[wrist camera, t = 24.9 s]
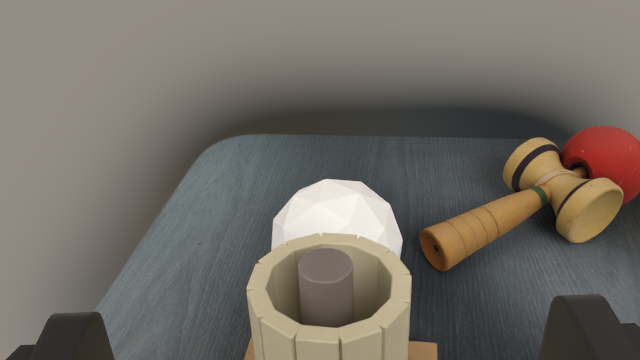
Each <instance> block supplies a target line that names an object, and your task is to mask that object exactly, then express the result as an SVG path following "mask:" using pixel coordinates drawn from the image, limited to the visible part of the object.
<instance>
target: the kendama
mask: <svg viewBox="0 0 640 360" xmlns="http://www.w3.org/2000/svg"><path fill="white" fill-rule="evenodd" d="M503 181H504V183H505V184H506V185H507V186H508V187H509V188H510V189H511V190H512V191H514V192H516V193H514V194H511V195H508V196H505V197H502V198H499V199H497V200H494V201H492V202H489V203H487V204H484V205H482V206H480V207H478V208H475V209H473V210H470V211H468V212H467V213H463V214H461V215H459V216H456V217H454V218H451V219H449V220H446V221H444V222H441V223H439V224H436V225H433V226H431V227H428V228H425V229H423V230H422V231H421V233H420V244H421V248H422V250H423V253H424V255H425V257H426V258H427V260H428V261H429V262H430V264H431V265H432V266H433V267H434V268H435V269H437V270H439V271H441V272H445V271H447V270H448V269H450V268H451V267H453V266H454V265H456V264H457V263H459V262H460V261H462V260H463V259H465V258H466V257H468V256H469V255H471V254H472V253H474V252H476V251H477V250H479V249H480V248H482V247H484V246H485V245H487V244H489V243H490V242H492V241H493V240H495V239H496V238H498V237H500V236H502V235H503V234H505V233H506V232H508V231H510V230H511V229H513V228H514V227H516V226H517V225H519V224H520V223H521V222H523V221H524V220H526V219H527V218H528V217H529V216H531V215H532V214H533V213H535V212H536V211H537V210H539V209H540V208H541V207H543V206H544V205H545V204H547V203H548V202H549V203H550V204H551V206H552V207H553V209H554V212H555V215H556V229H557V231H558V232H559V233H560V234H561V235H562V236H564V237H565V238H566V239H567V240H569V241H570V242H572V243H582V242H584V241H587V240H589V239H591V238H593V237H594V236H596V235H597V234H599V233H600V232H601V231H602V230H603V229H605V228H606V227H607V226H608V225H609V223H610V222H611V221H612V220H613V219H614V217H615V216H616V214H617V213H618V211H619V209H620V207H621V205H623V204H625V203H627V202H629V201H630V200H632V199H633V198H634V197H635V196H636V195H637V194H638V193H639V192H640V142H639V141H638V140H637V139H636V138H635V137H634V136H633V135H631V134H630V133H628V132H627V131H625V130H622V129H620V128H616V127H610V126H596V127H590V128H587V129H585V130H582V131H580V132H578V133H577V134H575V135H574V136H573V137H571V138H570V139H569V140H568V141H567V142H566V144H565V145H564V147H563V148H562V150H561V152H560V154H559V150H558V147H557V146H556V145H555V144H554V143H552V142H550V141H549V140H547V139H545V138H540V137H539V138H533V139H531V140H528V141H527V142H525V143H523V144H522V145H521V146H519V147H518V148H517V149H516V150H515V151H514V152H513V154H512V155H511V156H510V158H509V159H508V161H507V163H506V165H505V167H504V171H503Z"/></svg>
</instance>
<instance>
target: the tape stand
mask: <svg viewBox="0 0 640 360" xmlns="http://www.w3.org/2000/svg"><path fill="white" fill-rule="evenodd" d="M298 276H299V290H300V304H301V318H302V325H309V326H321V327H332V328H339V327H342V326H346V325H349V324H352V323H354V294H353V262H352V260H351V258H350V257H349V256H348V255H347V254H346V253H345V252H343V251H341V250H338V249H333V248H319V249H315V250H312V251H310V252H308V253H306V254H305V255H304V256H303V257H302V258H301V259H300V261H299V263H298ZM244 360H255V353H254V346H253V338H252V336H251V339H250V342H249V345H248V348H247V352H246V355H245V358H244ZM407 360H437V344H436V343H429V342H417V341H408V358H407Z"/></svg>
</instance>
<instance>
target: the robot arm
mask: <svg viewBox="0 0 640 360" xmlns="http://www.w3.org/2000/svg"><path fill="white" fill-rule="evenodd" d="M6 360H115V359H114V356H113V353H112V349H111V346H110V342H109V339H108V335H107V332H106V328H105V325H104V322H103V319H102V316H101V315H100V313H98V312H80V313H55V314H53V315H51V316H50V318H49V319H48V321H47V323H46V325H45V327H44V329H43V331H42V333H41V335H40V337H39V339H38V341H37V343H36V345H20V346H19V347H18V348H17V349H16V350H15V351H14V352H13V353H12V354H11V355H10V356H9V357H8V358H7V359H6ZM539 360H640V327H639V326H638V325H636V324H635V323H627V324H621V323H620V321H619V320H618V318H617V317H616V315H615V313H614V312H613V310H612V308H611V307H610V305H609V304H608V302H607V301H606V299H605V298H604V297H603V296H601V295H599V294H592V295H566V296H556V297H554V298H553V300H552V303H551V306H550V310H549V315H548V319H547V323H546V327H545V331H544V336H543V340H542V344H541V348H540V353H539Z"/></svg>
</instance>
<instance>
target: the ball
mask: <svg viewBox="0 0 640 360" xmlns="http://www.w3.org/2000/svg"><path fill="white" fill-rule="evenodd" d="M316 233H319V234H320V236H322V233H338V234H354V235H357V239H358V238H359V237H360V236H362V237H365V238H367V239H369V240H372V241H374V242H376V243H379V244H381V245H383V246H385V247H388V248H389V249H390V251H393V252H394V253H395V254H396V255H397V256H398V258H399V259H400V254H401V248H402V241H403V239H402V237H401V234H400V231H399V228H398V226H397V223H396V220H395V217H394V215H393V212H392V209H391V207H390V204H389V203H387V202H386V201H385V200H384V199H382V198H381V197H380V196H378V195H377V194H376V193H375V192H373V191H372V190H371V189H370V188H368V187H367V186H366V185H364V184H363V183H362V182H358V181H345V180H333V179H325V180H322V181H320V182H317V183H315V184H313V185H310V186H308V187H306V188H303V189H301V190H299V191H298V192H297V193H296V194H295V195H294V196H293V197H292V198H291V199H290V200H289V201H288V203H287V204H286V205H285V206H284V207H283V209H282V210H281V211H280V212H279V213H278V214H277V216H276V217H275V218H274V219H273V232H272V248H271V251H272V250H274V249H275V248H276V247H278V246H279V245H280V244H282V243H283V244H285V245H286V241H289V240H293V239H297V238H301V237H304V236H308V235H312V234H316Z"/></svg>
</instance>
